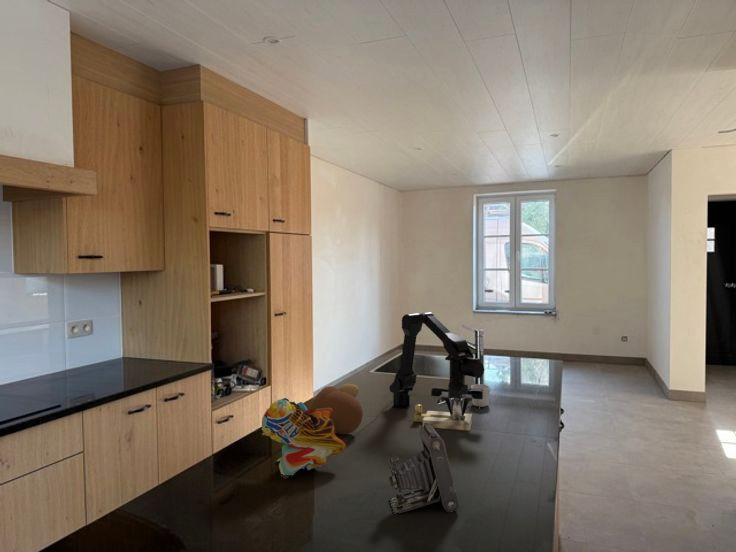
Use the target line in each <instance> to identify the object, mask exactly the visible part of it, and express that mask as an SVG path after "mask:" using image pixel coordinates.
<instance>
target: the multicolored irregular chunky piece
mask: <svg viewBox="0 0 736 552" xmlns="http://www.w3.org/2000/svg"><path fill="white" fill-rule="evenodd" d="M308 409H309V408H307V406H306V405H305V403H303V402H302V401H299V402H297V403H296V402H295V401H290V400H289V399H288V398H286V397H284V398H281V399H277V400H274V402H273V403H271V404H270V405H269V407H268V408H267V409H266V411H265V412H264V413H263V415H262V418H261V430H262V432H263V433H262V434H261V436H267V437H269V438H270V439H271V440H274V441H275V442H278V443H281V444H282V446H281V457H279V458H278V459H277V460H276V462H279V463H278V467H279V471H280V475H281V474H283V475H292V476H293V475H295V474H296V473H297V472H298V471H299V470H301V469H303V470H305V468H306V469H307V471H310V470H312V469H316V468H315V467H317V468H321V467H322V466H323V465H326V463H327V457H328V456H333V455H338V454H341V453H343V452H344V451H345V450H346V449H347V445H346V443H345V442H344V441H343V440H342V439H340V438H339V437H337V435H336V433H335V429H334V426H333V422H332V420H331V419H330V416H331V414H332V412H333V409H332V408H321V409H313V410H308Z"/></svg>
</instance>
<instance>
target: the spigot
mask: <svg viewBox="0 0 736 552" xmlns="http://www.w3.org/2000/svg"><path fill="white" fill-rule="evenodd" d="M451 404H452V420H463V405H464V399H463V398H460V399H458V398H451Z"/></svg>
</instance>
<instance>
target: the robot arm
mask: <svg viewBox="0 0 736 552" xmlns="http://www.w3.org/2000/svg"><path fill="white" fill-rule="evenodd" d="M423 324H424V325H425V326H426V327H427V329H429V330H430V331H431V332H432V333H433V334H434V335H435V336H436V337H437V338H438V339H439V340H440V341H441V343H442V346H443V348H444V350H445V351H446V353H447V354H448V355H447V356H446V357H445V358H444V360H445V361H449V374H448V375H449V376H448V377H449V380H448V381H449V383H448V388H444V385H436V384H435V385H433V386H432V388H431V390H430V396H432V397H440V398H441V399H442V400H444V401H445V404H446V405H447V408H448V412H450V415H452V399H453V398H458V399H460V398H461V399H463V396H464V399H463V416H464V413H466V410H467V407H468V404H469V403H470V402H472V400H473V399H483V389H482V388H472V390H471V389H469V386H468V384H466V376H467V377H470V378H475V379H480V378H483V377H482V376H484V373H485V367H484V364H483V363H482V362H481V358H474V355H473V353H472V351H471V349H470V347H469V344H468V342H467V340H466V339H464V338H463V337H461V336H460V335H456V334H455V333H453V332H451V331H450V330H449V329H448V328H447V326H445V325H444V324H443V323H442V322H441V321H440V320H439V319H438V318H437V317H436V316H435V314H434V313H432V312H431V311H429V312H427V311H426V312H422V313H419V312H418V313H417V312H414V313H407V314H404V315H403V316H402V318H401V329H402V332H403V335H404V336H403V344H402V345H403V346H402V353H401V359H400V367H399V369H398V370H397V371H396V373H395V377H394V380H393V382H392V383H391V384H390V385H389V392H390V393H392V394H393V396H392V397H393V401H392V402H393V404H392V408H399V409H408V408H409V407H410V405H411V404H412V403H411V401H412V400H411V399H412V398H411V397H412V396H411V394H410V392H412V391H413V390H414V387H415V384H417V376H418V375H417V373H415V372H414V370H413V367H414V357H415V351H416V344H417V343H416V342H417V336H418V335H419V333H420V331H422V328H423V327H422V326H423Z"/></svg>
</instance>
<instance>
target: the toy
mask: <svg viewBox="0 0 736 552" xmlns="http://www.w3.org/2000/svg"><path fill="white" fill-rule="evenodd" d="M359 392H360V390H359V387H358V386H357V385H356V384H352V383H345V384H342V385H341V386H340V387H339V388H338V387H335V386H331V385H330V386H325V387H324V388H322V389H321V390H319V392H318V393H317V394H316V396H314V399H313V400H312V401H311V403H310V404H309V406H308V408H307V409H308V410H313V409H321V408H332V409H333V412H332V414H331V416H330V419H331V420H332V422H333V426H334V429H335V435H336V434H337V435H348V434H351V433H353V432H355V431H356V430H357V429H358V428H359V427H360V425H361V423H362V421H363V416H364V410H363V406H362V404H361V402H360V401H359V400H358V399H357V398H356V397H357V396H358V395H359Z"/></svg>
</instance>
